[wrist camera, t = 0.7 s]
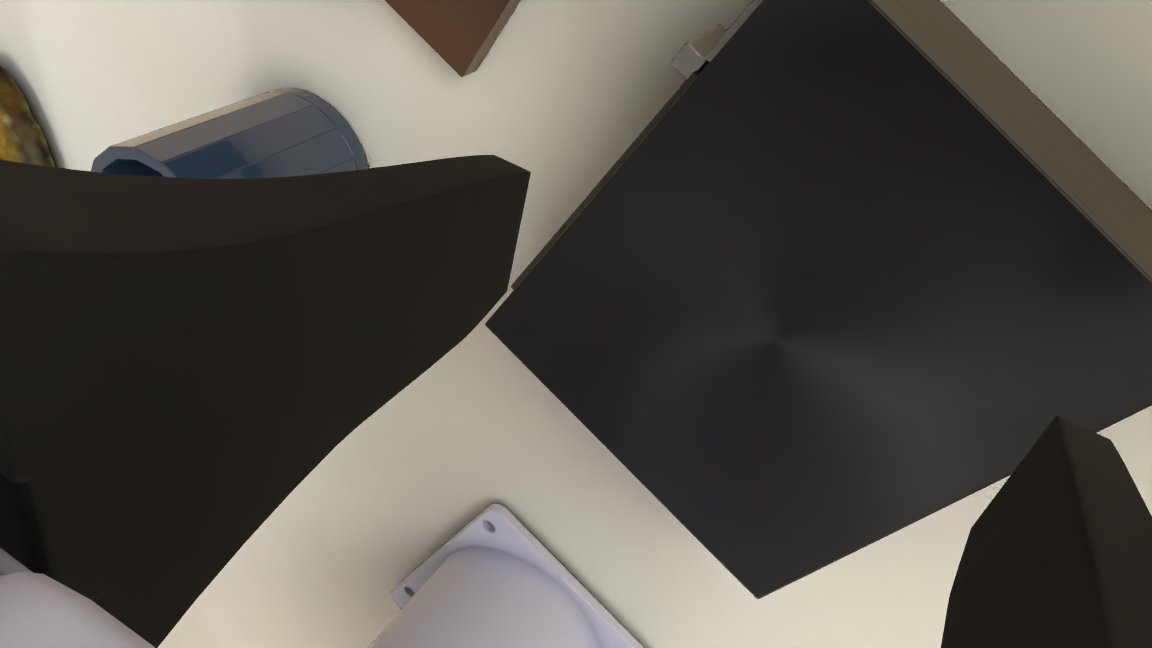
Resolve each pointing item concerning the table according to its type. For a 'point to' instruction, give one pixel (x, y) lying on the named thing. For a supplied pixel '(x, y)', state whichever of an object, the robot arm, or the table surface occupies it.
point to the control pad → (457, 27)
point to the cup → (244, 142)
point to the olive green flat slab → (20, 128)
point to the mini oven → (839, 284)
